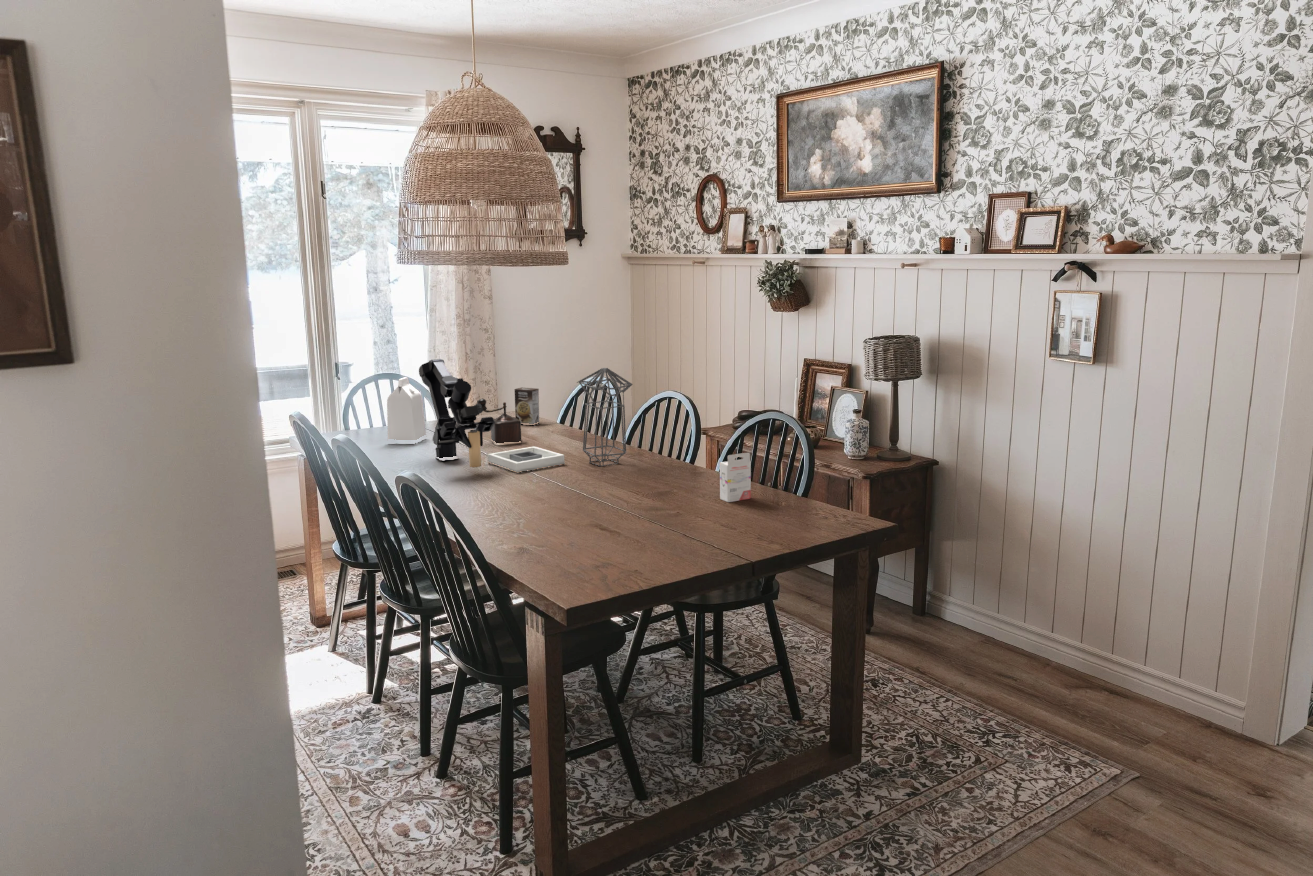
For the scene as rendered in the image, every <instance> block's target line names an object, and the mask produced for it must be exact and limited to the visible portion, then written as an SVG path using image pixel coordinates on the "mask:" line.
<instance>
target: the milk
mask: <svg viewBox="0 0 1313 876" xmlns="http://www.w3.org/2000/svg"><path fill="white" fill-rule="evenodd" d="M386 402H387V403H386V417H387V418H386V420H387V440H388V439H394V440H395V439H396V440H417V439H419V438H420V437H422V436H424V435H426V436H427V430H426V422H425V413H424V403H423V395H422V393H421V392H420V391H419V390H417V389H416V387H415V386H413V385H412V384H411V383H410V380H409V378H408V376H407V377H402V378H399V379H398V381H397V387H396V388H395V389H394V390H393V391H392V392H391V393H390V394H389V395H388V397H387V399H386Z"/></svg>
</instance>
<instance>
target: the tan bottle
mask: <svg viewBox="0 0 1313 876" xmlns="http://www.w3.org/2000/svg"><path fill="white" fill-rule="evenodd" d="M467 437H468V439H469V441H470V443H471V448H469V447H468V460H469V461H468V462H469V467H470V468H481V467H482V450H481V446H480V432H479V431H477V430H474V429H469V431H467Z"/></svg>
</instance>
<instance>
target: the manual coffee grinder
mask: <svg viewBox="0 0 1313 876" xmlns="http://www.w3.org/2000/svg"><path fill="white" fill-rule="evenodd" d="M476 404H481V406H482V408H483V412H485V413H493V412H498V411H501V410H503V413H501V415H500V416H498V417H496V418H493V419H494V421H495V423H494V425H493V427H492V429H491V430H490V435H491V436H490V440H491V439H492V440H493V441H495V442H496V443H504V442H519V441H521V442H522V425H521V422H520V421H519V420H518V419H517V418H516V417H515V416H511V415H509V414H507V402H505V401H504V402H503V403H502V405H503V406H501V407H498V408H494V409H489V410H488V408H487V400H486V399H485V398H479V399H477V402H476Z"/></svg>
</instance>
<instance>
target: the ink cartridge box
mask: <svg viewBox="0 0 1313 876" xmlns="http://www.w3.org/2000/svg"><path fill="white" fill-rule="evenodd" d="M738 457H739V458H741V459H738ZM751 465H752V464H751V452H744V453H743V452H742V453H736V454H729V455H727V461H721V462H719V499H720V500H722V501H724V502H726V503H732V502H737V501H744V500H745V501H746V500H750V499H751V498H752V487H751V486H752V484H751V483H752V482H751V478H752V472H751V471H752V468H751V467H752V466H751Z"/></svg>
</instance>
